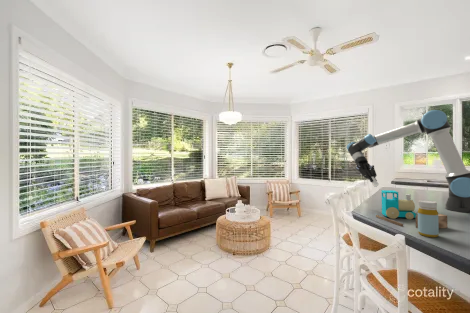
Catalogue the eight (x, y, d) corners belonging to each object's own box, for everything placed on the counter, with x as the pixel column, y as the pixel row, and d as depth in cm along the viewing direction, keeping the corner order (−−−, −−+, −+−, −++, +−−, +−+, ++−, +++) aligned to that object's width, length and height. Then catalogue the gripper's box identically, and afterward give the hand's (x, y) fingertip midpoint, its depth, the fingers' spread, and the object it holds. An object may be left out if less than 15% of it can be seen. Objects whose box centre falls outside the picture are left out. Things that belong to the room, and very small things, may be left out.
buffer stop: (438, 225, 117) (438, 213, 117) (447, 227, 112) (447, 215, 112) (412, 226, 115) (412, 214, 115) (421, 229, 111) (420, 216, 111)
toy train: (420, 220, 126) (420, 192, 126) (386, 218, 131) (386, 192, 131) (413, 216, 134) (413, 190, 134) (381, 214, 138) (381, 190, 138)
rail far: (377, 217, 134) (377, 214, 134) (403, 226, 116) (403, 223, 116) (375, 217, 134) (375, 215, 134) (401, 226, 116) (401, 224, 116)
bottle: (414, 232, 106) (413, 200, 106) (428, 232, 107) (427, 199, 107) (428, 238, 99) (427, 203, 99) (443, 237, 100) (442, 202, 100)
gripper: (366, 162, 170) (382, 188, 153) (349, 163, 168) (364, 189, 152) (370, 155, 164) (388, 181, 148) (353, 156, 163) (369, 182, 147)
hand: (376, 185), depth 150 cm, fingers closed
